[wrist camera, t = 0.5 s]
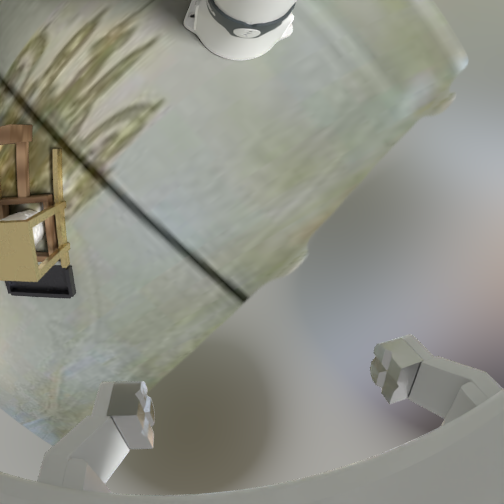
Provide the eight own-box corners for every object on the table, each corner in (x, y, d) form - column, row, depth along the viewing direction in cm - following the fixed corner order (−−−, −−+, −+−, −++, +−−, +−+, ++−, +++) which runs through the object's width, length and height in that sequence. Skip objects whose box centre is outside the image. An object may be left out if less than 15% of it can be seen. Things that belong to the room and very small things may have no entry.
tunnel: (-6, 158, 41) (-52, 167, 28) (64, 148, 44) (23, 152, 31) (11, 291, 51) (-22, 326, 37) (77, 294, 54) (50, 335, 40)
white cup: (13, 239, 47) (-13, 256, 38) (19, 201, 45) (-9, 213, 36) (44, 251, 50) (20, 271, 40) (50, 213, 48) (26, 227, 38)
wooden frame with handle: (2, 130, 40) (-21, 131, 32) (52, 121, 42) (31, 120, 35) (12, 256, 48) (-8, 272, 41) (59, 257, 50) (42, 273, 43)
